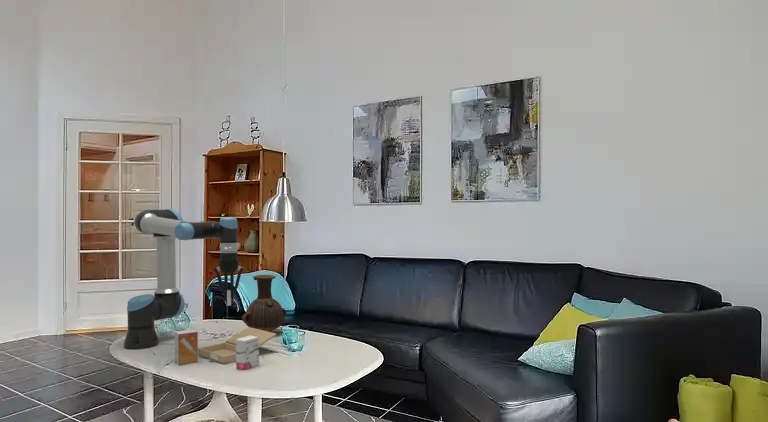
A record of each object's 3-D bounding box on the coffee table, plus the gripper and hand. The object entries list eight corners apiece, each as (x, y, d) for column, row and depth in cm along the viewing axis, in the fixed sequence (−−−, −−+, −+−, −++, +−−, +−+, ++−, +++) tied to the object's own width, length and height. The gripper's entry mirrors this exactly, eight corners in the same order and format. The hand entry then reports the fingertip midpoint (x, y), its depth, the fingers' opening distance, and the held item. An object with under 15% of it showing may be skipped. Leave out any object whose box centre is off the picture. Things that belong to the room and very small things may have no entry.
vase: (255, 341, 267) (254, 279, 267) (232, 335, 280) (232, 276, 280) (295, 332, 285) (295, 274, 285) (272, 327, 298) (271, 272, 298)
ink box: (244, 370, 219) (243, 340, 219) (235, 368, 222) (234, 339, 222) (259, 364, 227) (259, 336, 226) (251, 363, 229) (250, 335, 229)
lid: (248, 326, 262) (249, 328, 262) (224, 341, 252) (225, 343, 252) (276, 333, 247) (276, 335, 247) (251, 349, 237) (252, 351, 238)
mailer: (197, 355, 242) (197, 348, 242) (225, 349, 252) (224, 342, 252) (223, 364, 228) (223, 356, 228) (251, 357, 237) (251, 350, 237)
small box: (178, 365, 227) (177, 334, 227) (174, 361, 233) (174, 331, 233) (198, 362, 232) (197, 331, 232) (194, 358, 237) (193, 328, 237)
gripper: (212, 253, 239) (212, 307, 240) (243, 252, 241) (243, 306, 242) (214, 251, 247) (215, 304, 247) (244, 251, 249) (244, 303, 249)
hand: (229, 305), depth 244 cm, fingers closed
